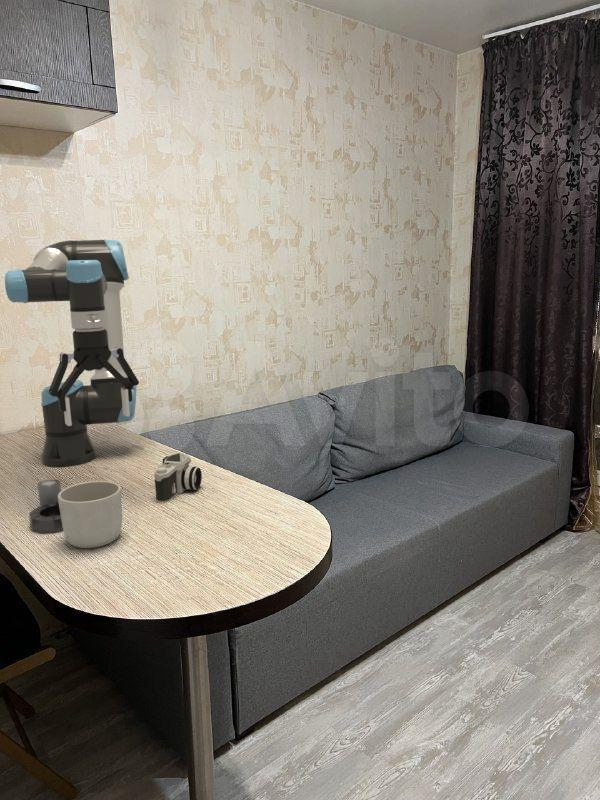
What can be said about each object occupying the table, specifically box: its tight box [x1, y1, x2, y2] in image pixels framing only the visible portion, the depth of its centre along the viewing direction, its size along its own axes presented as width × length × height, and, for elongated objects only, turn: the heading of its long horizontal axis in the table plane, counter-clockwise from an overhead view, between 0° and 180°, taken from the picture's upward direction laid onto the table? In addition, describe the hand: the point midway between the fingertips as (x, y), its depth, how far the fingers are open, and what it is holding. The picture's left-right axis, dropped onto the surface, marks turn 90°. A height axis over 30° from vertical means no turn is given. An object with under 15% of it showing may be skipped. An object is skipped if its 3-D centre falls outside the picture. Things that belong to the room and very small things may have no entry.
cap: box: [37, 479, 62, 507], centre depth 148 cm, size 5×5×6 cm
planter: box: [58, 480, 123, 549], centre depth 129 cm, size 12×12×11 cm
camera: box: [153, 452, 203, 503], centre depth 156 cm, size 16×9×10 cm, turn 168°
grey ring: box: [28, 502, 64, 535], centre depth 139 cm, size 10×10×3 cm
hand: (98, 420), depth 146 cm, fingers open, 13 cm apart
